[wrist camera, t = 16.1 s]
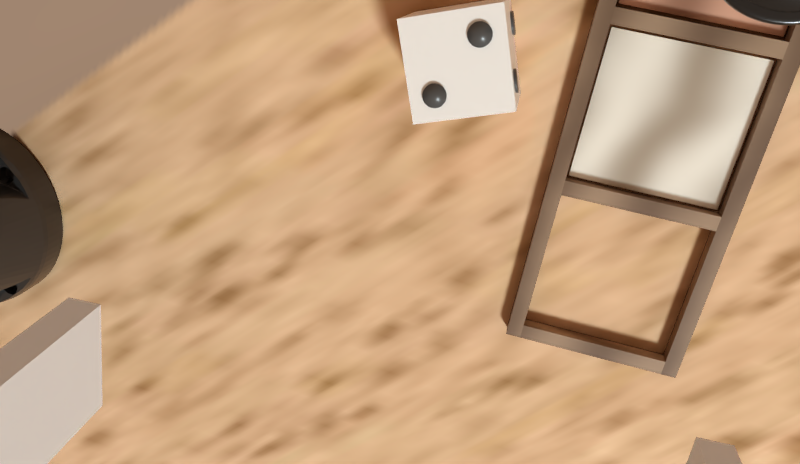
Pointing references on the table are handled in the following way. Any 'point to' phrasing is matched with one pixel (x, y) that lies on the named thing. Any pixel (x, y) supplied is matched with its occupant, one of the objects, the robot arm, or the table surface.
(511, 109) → the die
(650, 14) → the brown multi-panel picture frame
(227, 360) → the table surface
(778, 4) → the drinking cup
